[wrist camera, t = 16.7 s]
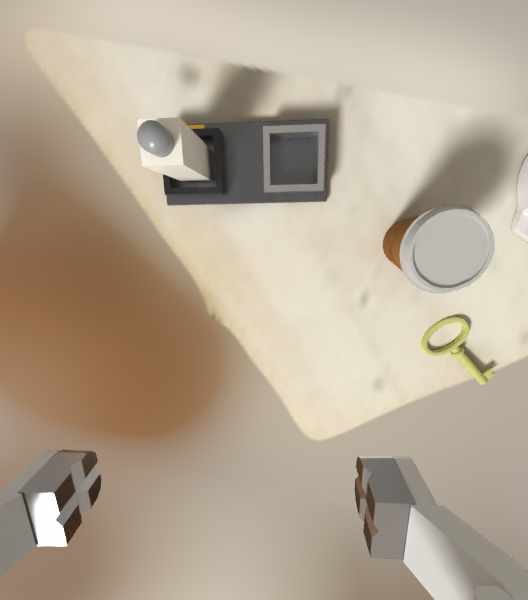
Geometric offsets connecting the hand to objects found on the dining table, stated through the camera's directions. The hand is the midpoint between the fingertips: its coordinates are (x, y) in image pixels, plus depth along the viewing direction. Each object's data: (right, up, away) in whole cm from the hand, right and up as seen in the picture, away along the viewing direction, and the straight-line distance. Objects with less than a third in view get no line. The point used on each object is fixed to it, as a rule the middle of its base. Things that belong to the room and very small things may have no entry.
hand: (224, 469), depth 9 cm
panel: (-1, +24, +32) cm, 40 cm away
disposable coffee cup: (+21, +13, +34) cm, 42 cm away
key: (+31, -2, +38) cm, 49 cm away
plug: (-8, +23, +32) cm, 40 cm away
